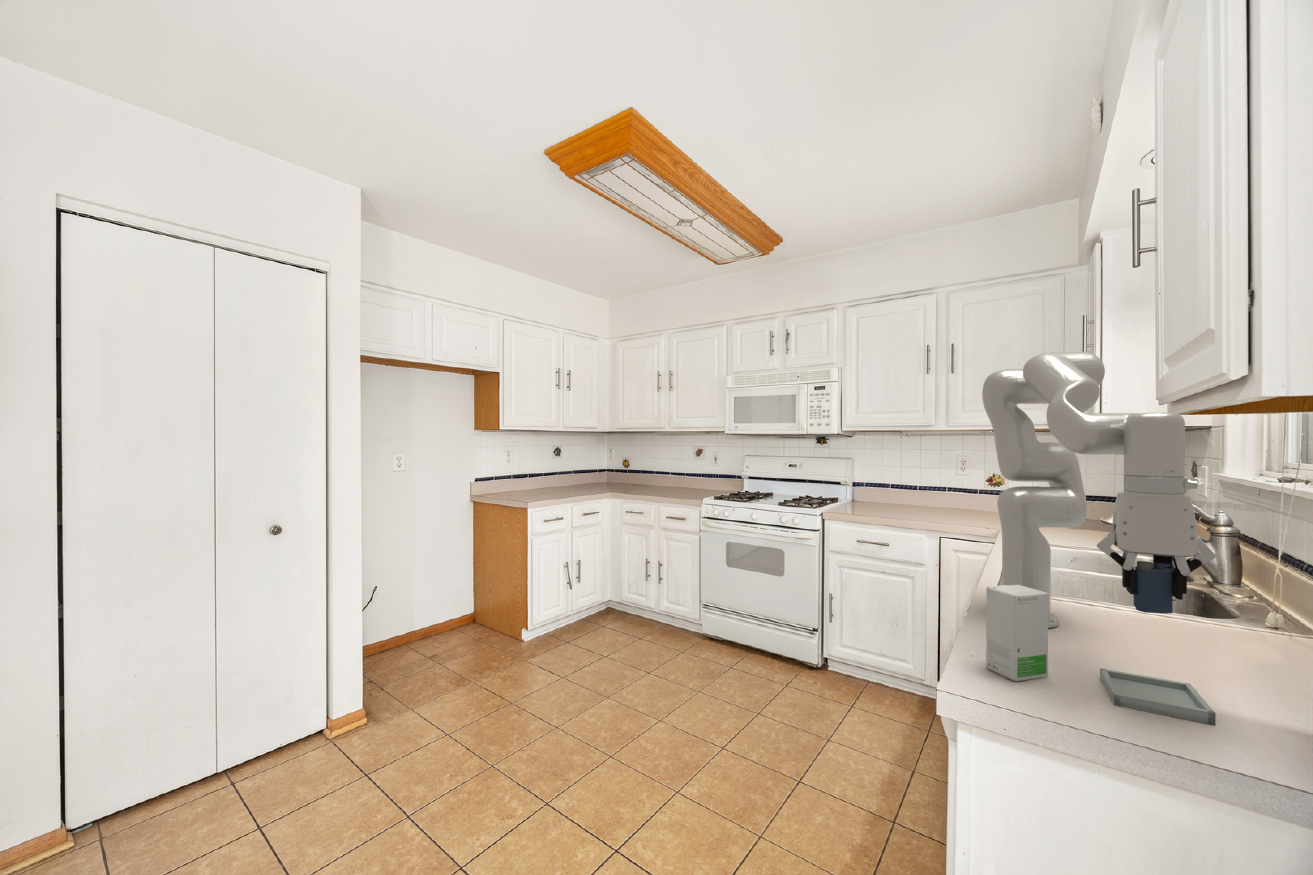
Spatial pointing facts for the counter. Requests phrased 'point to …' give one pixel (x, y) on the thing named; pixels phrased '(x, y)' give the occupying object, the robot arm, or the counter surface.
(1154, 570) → the vaping device
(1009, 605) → the skincare box
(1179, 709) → the tray
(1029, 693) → the counter surface
